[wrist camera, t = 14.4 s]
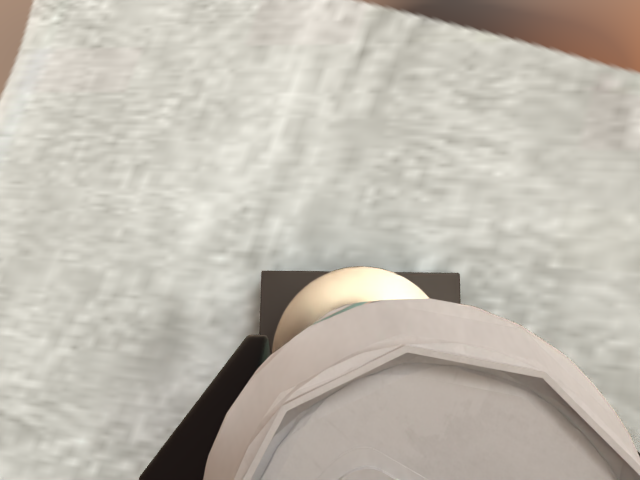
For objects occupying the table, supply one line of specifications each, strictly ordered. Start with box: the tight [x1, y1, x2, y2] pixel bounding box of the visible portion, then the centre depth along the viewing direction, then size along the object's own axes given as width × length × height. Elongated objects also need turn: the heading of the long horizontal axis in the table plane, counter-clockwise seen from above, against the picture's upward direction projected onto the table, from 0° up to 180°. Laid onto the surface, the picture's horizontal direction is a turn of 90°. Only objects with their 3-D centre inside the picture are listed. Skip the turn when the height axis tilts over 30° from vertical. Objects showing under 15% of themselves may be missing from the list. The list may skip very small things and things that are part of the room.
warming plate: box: [272, 266, 430, 354], centre depth 18 cm, size 7×7×1 cm
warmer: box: [260, 271, 460, 355], centre depth 19 cm, size 13×9×3 cm
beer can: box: [203, 299, 640, 480], centre depth 10 cm, size 5×5×12 cm
